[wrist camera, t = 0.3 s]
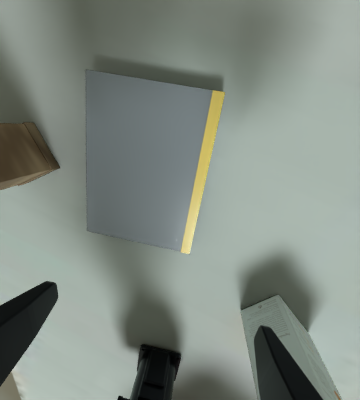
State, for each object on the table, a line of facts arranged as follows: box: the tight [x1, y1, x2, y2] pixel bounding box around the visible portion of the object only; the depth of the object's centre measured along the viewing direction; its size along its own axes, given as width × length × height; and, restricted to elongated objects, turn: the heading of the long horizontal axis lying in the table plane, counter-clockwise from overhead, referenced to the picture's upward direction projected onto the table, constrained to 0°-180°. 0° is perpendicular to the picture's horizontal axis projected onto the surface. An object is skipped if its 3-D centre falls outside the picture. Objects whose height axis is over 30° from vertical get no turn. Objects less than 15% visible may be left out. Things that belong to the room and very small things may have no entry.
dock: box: [86, 70, 225, 254], centre depth 20 cm, size 16×12×2 cm
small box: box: [241, 295, 342, 400], centre depth 21 cm, size 8×6×10 cm
